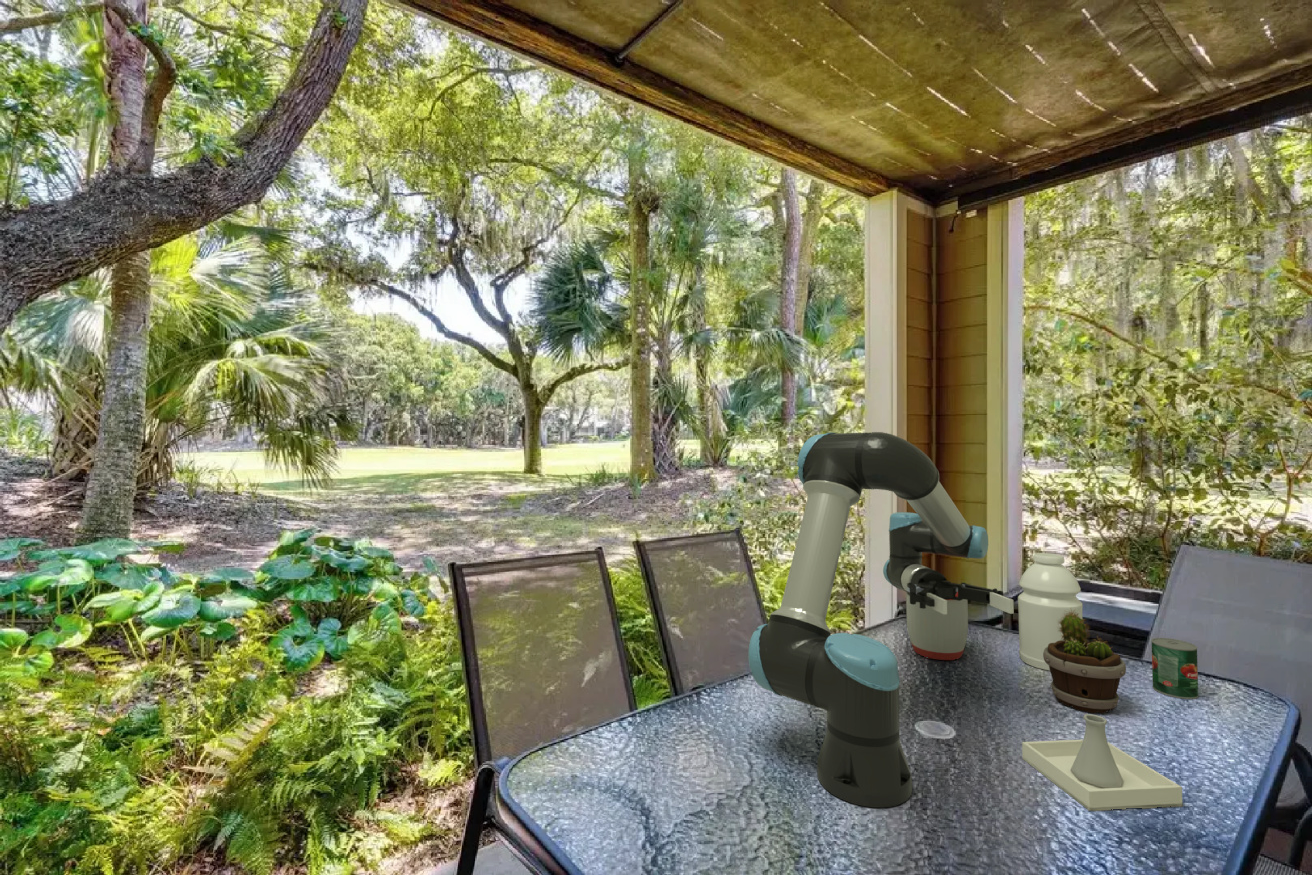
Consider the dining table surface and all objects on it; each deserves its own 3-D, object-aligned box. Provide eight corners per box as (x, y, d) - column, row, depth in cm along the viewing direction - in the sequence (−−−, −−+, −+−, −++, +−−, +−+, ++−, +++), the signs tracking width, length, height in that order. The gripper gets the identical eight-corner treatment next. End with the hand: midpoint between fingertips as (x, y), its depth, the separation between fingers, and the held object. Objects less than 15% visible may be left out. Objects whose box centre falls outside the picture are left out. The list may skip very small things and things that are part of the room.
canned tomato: (1203, 702, 127) (1201, 651, 128) (1156, 694, 132) (1154, 645, 132) (1193, 689, 134) (1192, 641, 134) (1149, 682, 138) (1148, 635, 139)
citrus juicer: (958, 644, 166) (957, 573, 167) (977, 666, 149) (976, 588, 150) (900, 640, 170) (899, 571, 170) (912, 662, 153) (910, 585, 153)
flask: (1127, 795, 93) (1126, 732, 94) (1072, 782, 97) (1071, 722, 97) (1119, 773, 100) (1118, 714, 100) (1068, 761, 103) (1066, 705, 103)
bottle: (1006, 657, 155) (1004, 552, 156) (1042, 650, 160) (1040, 548, 161) (1059, 677, 142) (1057, 561, 142) (1097, 668, 147) (1094, 557, 147)
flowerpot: (1145, 721, 119) (1142, 623, 119) (1061, 715, 122) (1058, 619, 122) (1105, 692, 133) (1103, 604, 133) (1031, 687, 136) (1029, 601, 136)
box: (1089, 811, 90) (1089, 791, 90) (1022, 758, 105) (1022, 742, 106) (1182, 806, 91) (1181, 787, 91) (1102, 755, 106) (1102, 738, 106)
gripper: (976, 599, 138) (1039, 625, 117) (873, 600, 137) (917, 626, 116) (976, 567, 138) (1038, 587, 117) (872, 567, 137) (917, 588, 116)
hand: (978, 607), depth 116 cm, fingers open, 13 cm apart
